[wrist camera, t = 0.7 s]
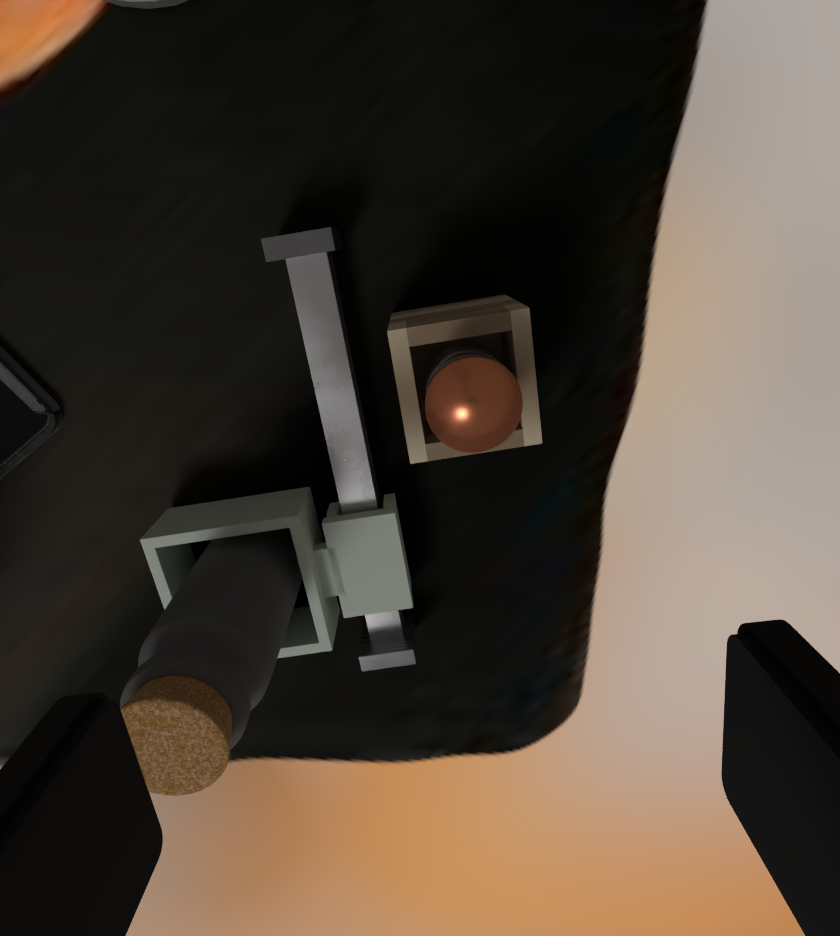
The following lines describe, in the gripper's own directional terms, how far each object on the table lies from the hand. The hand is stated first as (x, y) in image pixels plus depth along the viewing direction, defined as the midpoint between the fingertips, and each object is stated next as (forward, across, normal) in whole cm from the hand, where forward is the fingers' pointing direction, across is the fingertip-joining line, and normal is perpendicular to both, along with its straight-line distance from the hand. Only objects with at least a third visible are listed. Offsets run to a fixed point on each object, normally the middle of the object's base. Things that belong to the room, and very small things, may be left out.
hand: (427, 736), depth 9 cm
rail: (+26, +4, +3) cm, 26 cm away
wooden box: (+26, -2, -2) cm, 26 cm away
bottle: (+26, +11, +9) cm, 30 cm away
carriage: (+26, +9, +9) cm, 29 cm away
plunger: (+21, -2, -1) cm, 21 cm away
